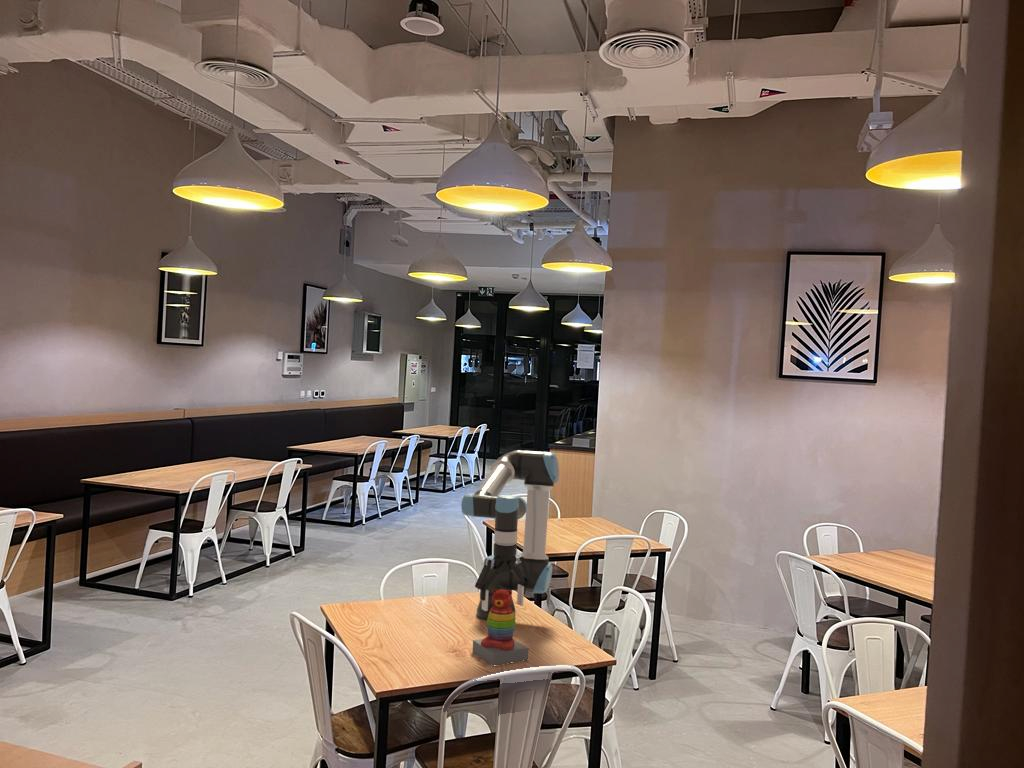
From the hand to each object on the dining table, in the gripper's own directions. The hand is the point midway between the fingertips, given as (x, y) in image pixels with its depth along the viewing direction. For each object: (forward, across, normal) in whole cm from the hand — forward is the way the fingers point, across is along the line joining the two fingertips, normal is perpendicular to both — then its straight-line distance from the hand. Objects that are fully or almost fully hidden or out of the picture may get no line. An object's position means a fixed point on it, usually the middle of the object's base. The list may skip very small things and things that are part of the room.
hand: (502, 607), depth 238 cm
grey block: (+16, 0, 0) cm, 16 cm away
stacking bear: (+12, +1, 0) cm, 12 cm away
